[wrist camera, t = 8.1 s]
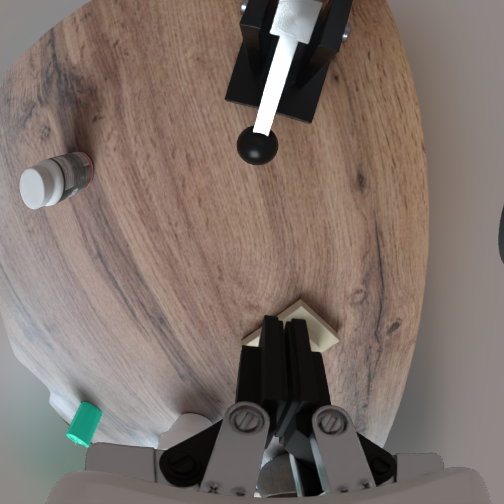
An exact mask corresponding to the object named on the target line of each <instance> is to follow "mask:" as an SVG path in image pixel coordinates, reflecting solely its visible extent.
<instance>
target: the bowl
mask: <svg viewBox="0 0 504 504" xmlns="http://www.w3.org/2000/svg"><path fill="white" fill-rule="evenodd" d="M257 488H258V491H259V494H260V496H261V497H262V498H294V497H298V495H297V490H296V485H295V481H294V476H293V471H292V467H291V462H290V458H289V453H286V454H283V455H280V456H278V457H275V458H273V459H272V460H270V461H269V462H267V463H266V464H265V465H264V466H263V467H262V468H261V470H260V472H259V477H258V481H257Z"/></svg>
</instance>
